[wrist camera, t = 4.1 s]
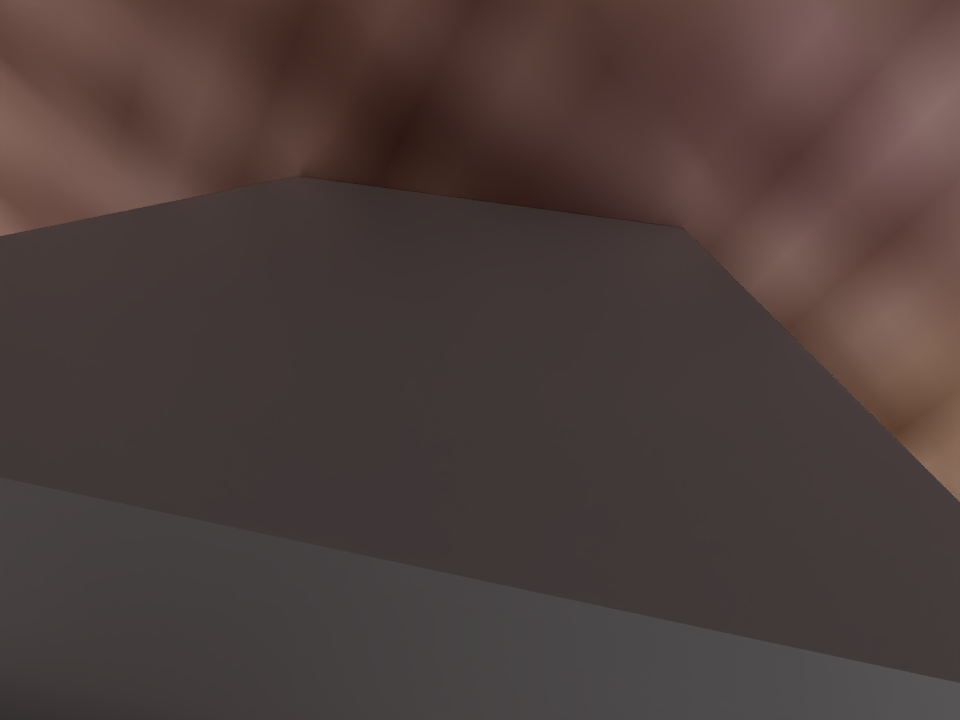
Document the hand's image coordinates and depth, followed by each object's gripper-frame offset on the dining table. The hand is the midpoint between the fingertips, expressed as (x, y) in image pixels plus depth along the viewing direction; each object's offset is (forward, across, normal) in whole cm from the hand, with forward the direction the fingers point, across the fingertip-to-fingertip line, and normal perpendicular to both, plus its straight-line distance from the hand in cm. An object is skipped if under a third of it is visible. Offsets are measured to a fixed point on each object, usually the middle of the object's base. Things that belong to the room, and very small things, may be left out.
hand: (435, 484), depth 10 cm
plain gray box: (+3, 0, 0) cm, 3 cm away
